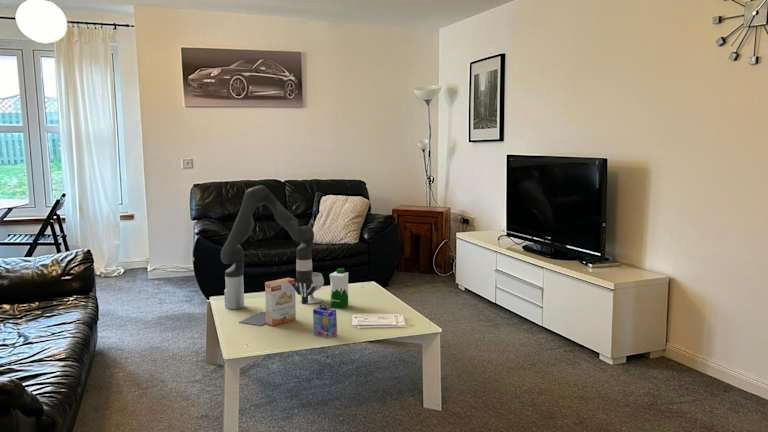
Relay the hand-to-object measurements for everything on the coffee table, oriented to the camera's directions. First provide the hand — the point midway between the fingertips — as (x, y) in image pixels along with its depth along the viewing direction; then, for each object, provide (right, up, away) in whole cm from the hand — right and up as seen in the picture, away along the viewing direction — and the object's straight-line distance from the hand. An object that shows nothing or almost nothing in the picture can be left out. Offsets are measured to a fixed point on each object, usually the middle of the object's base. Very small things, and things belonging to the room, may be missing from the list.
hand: (305, 303), depth 273 cm
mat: (-24, -9, +11) cm, 28 cm away
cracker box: (-13, -10, +7) cm, 17 cm away
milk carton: (+14, -7, +32) cm, 36 cm away
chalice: (-2, -5, +42) cm, 43 cm away
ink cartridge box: (+11, -13, -12) cm, 21 cm away
